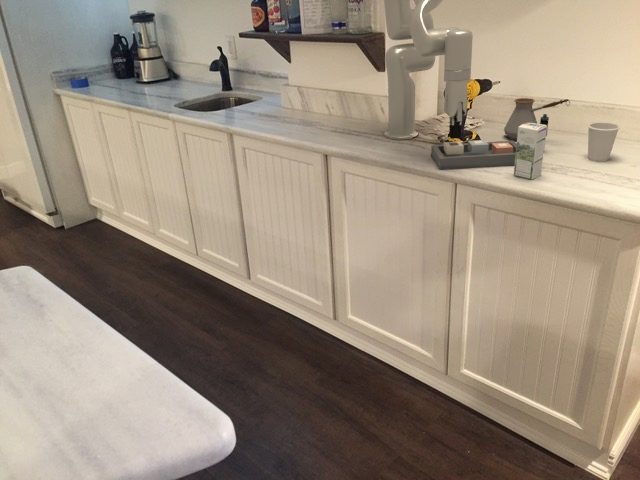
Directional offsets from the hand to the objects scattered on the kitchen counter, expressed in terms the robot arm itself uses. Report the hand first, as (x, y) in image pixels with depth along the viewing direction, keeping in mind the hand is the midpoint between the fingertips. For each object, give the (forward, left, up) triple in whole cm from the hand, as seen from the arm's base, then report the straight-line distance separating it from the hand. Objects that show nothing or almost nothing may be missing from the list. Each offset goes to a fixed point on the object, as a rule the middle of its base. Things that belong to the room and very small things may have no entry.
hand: (454, 137), depth 164 cm
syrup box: (+16, +17, -8) cm, 25 cm away
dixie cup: (+5, +42, -8) cm, 43 cm away
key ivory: (0, 0, -5) cm, 5 cm away
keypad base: (0, +7, -8) cm, 11 cm away
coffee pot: (-18, +31, -8) cm, 37 cm away
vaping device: (-5, +27, -8) cm, 29 cm away
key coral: (0, +15, -6) cm, 16 cm away
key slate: (0, +7, -5) cm, 9 cm away
